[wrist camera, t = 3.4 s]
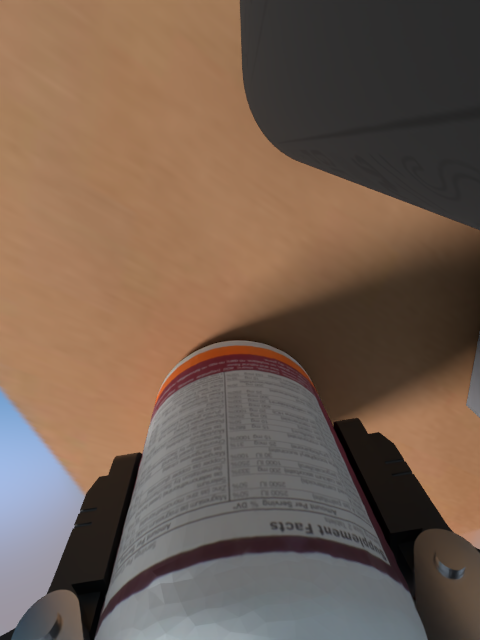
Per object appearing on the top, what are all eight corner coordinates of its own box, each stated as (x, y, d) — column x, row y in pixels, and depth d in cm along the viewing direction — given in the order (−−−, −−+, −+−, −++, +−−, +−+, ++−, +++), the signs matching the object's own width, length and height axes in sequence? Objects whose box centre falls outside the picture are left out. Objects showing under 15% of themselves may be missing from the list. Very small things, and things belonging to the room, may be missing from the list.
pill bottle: (286, 468, 15) (450, 1147, 5) (145, 450, 14) (-51, 1267, 4) (336, 350, 12) (907, 1202, 2) (171, 317, 11) (-203, 1630, 1)
